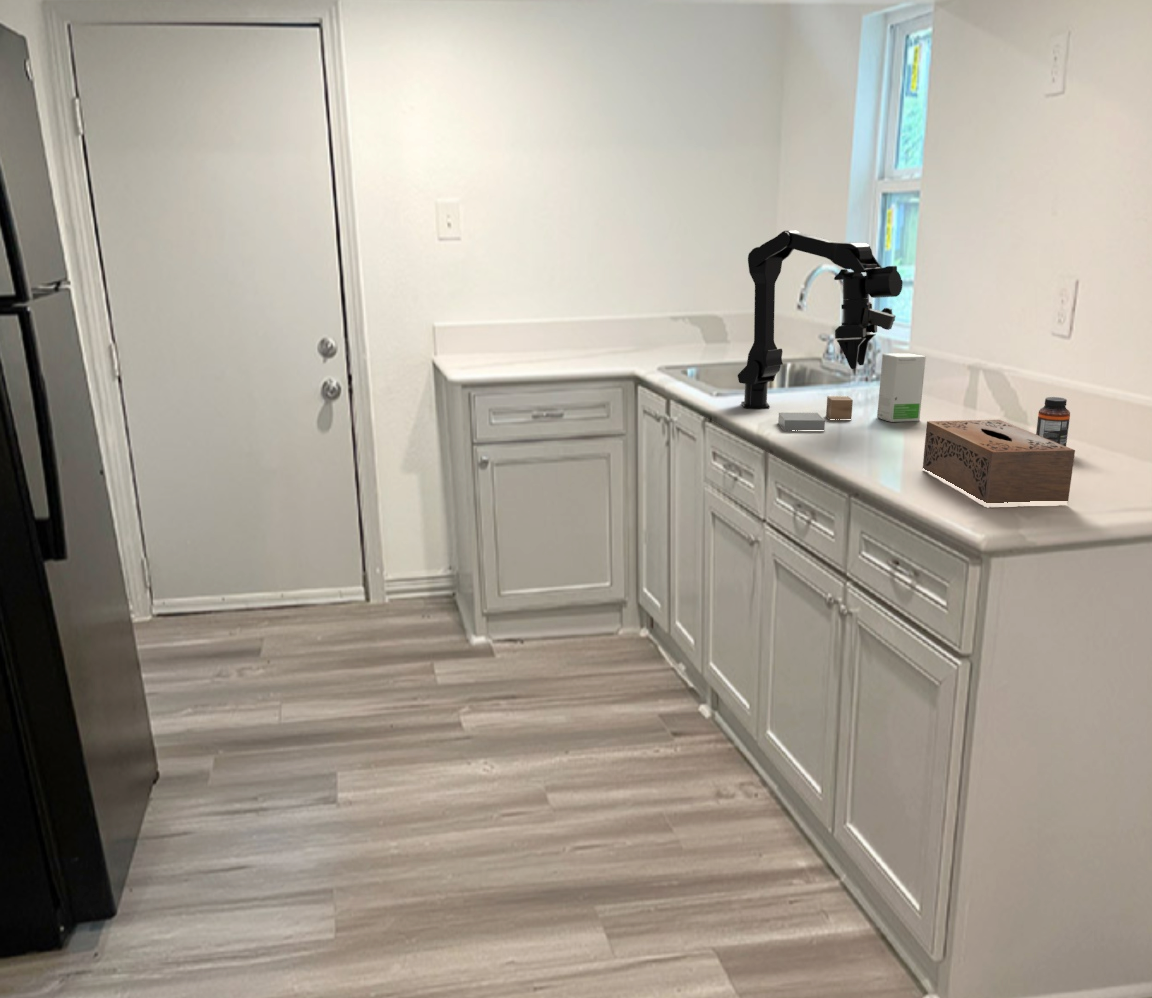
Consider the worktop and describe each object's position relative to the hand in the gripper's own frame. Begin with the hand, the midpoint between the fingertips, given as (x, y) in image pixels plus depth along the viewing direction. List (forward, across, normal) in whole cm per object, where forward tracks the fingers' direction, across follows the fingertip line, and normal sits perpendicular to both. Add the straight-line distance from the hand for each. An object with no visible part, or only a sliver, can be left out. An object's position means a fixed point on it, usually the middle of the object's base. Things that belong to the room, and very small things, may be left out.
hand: (857, 367), depth 237 cm
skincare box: (+14, +9, -8) cm, 18 cm away
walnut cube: (+13, +5, +6) cm, 15 cm away
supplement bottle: (+18, -13, -41) cm, 47 cm away
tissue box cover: (+19, -47, -32) cm, 60 cm away
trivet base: (+13, -10, +11) cm, 20 cm away
